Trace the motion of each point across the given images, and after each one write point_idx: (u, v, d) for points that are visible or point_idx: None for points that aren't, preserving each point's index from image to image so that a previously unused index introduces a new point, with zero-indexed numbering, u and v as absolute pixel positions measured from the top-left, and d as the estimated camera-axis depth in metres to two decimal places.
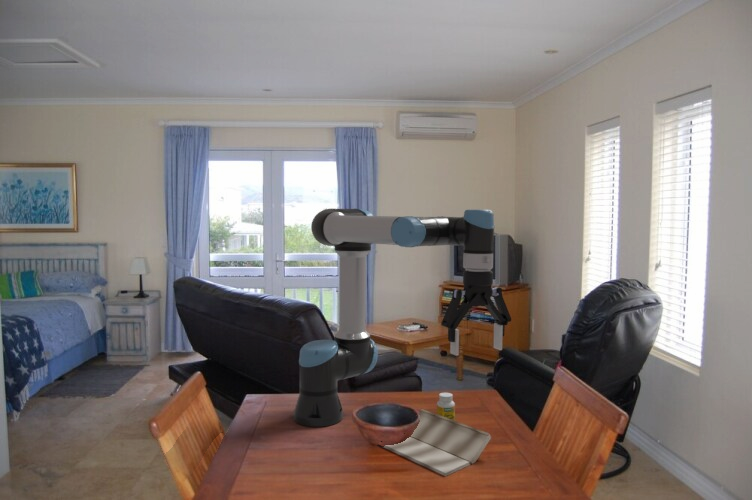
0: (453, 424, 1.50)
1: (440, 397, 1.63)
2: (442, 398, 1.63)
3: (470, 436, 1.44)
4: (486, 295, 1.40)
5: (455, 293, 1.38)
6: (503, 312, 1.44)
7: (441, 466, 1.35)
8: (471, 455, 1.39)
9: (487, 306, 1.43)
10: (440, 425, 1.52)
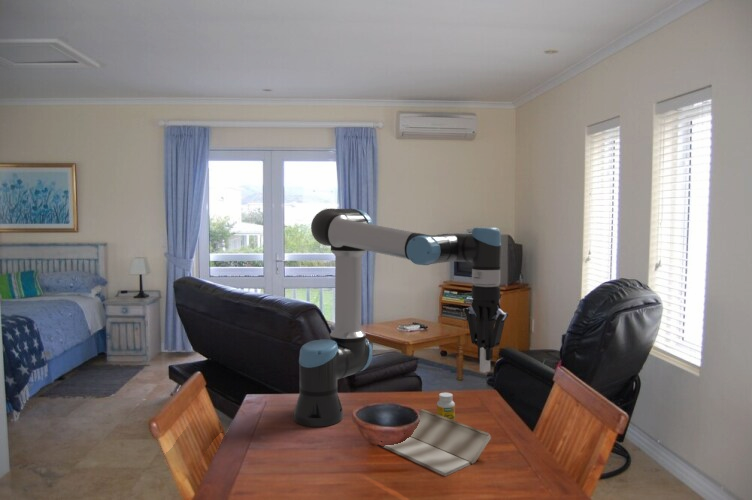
0: (453, 424, 1.50)
1: (440, 397, 1.63)
2: (442, 398, 1.63)
3: (470, 436, 1.44)
4: (485, 310, 1.46)
5: None
6: None
7: (441, 466, 1.35)
8: (471, 455, 1.39)
9: None
10: (440, 425, 1.52)
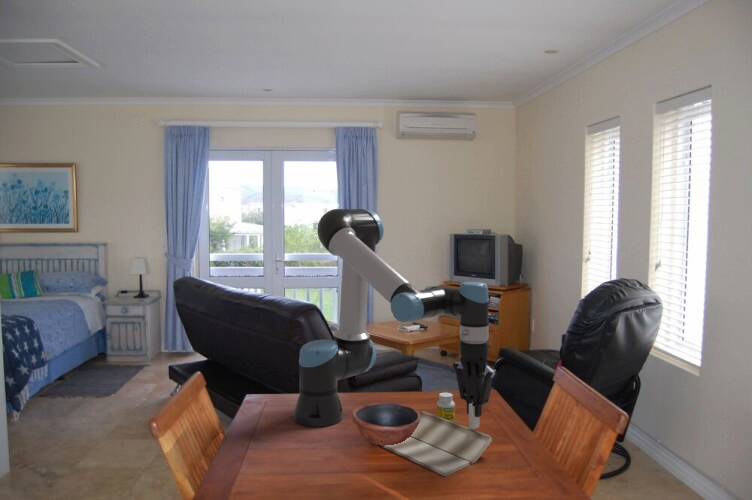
0: (454, 426, 1.51)
1: (440, 397, 1.63)
2: (442, 398, 1.63)
3: (471, 438, 1.45)
4: (473, 367, 1.44)
5: None
6: None
7: (441, 466, 1.35)
8: (471, 455, 1.40)
9: None
10: (441, 427, 1.52)
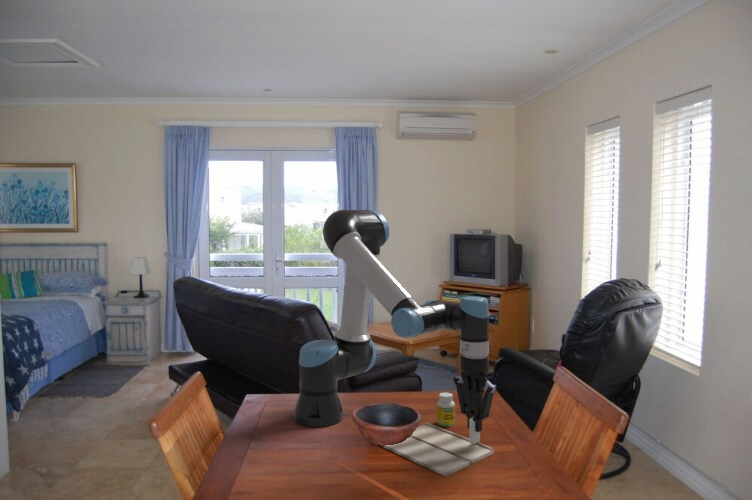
0: (457, 437, 1.52)
1: (440, 397, 1.63)
2: (442, 398, 1.63)
3: (473, 447, 1.46)
4: (474, 382, 1.44)
5: None
6: None
7: (441, 466, 1.35)
8: (473, 457, 1.40)
9: None
10: (443, 435, 1.53)
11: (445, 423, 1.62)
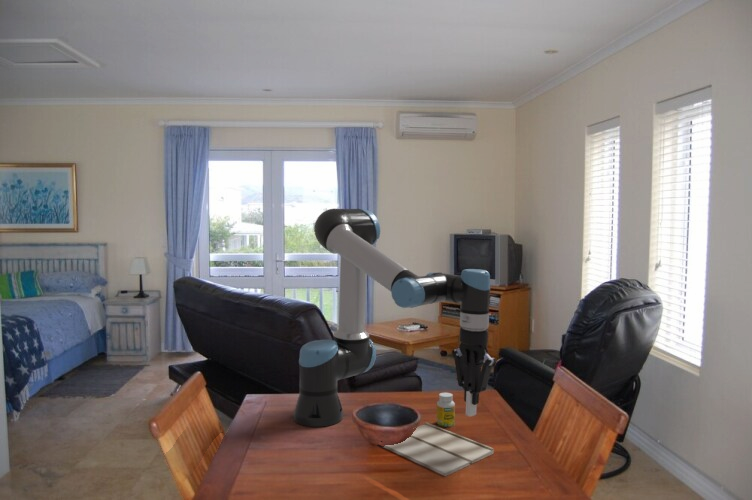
0: (457, 437, 1.52)
1: (440, 397, 1.63)
2: (442, 398, 1.63)
3: (473, 447, 1.46)
4: (472, 354, 1.44)
5: None
6: None
7: (441, 466, 1.35)
8: (473, 457, 1.40)
9: None
10: (443, 435, 1.53)
11: (445, 423, 1.62)
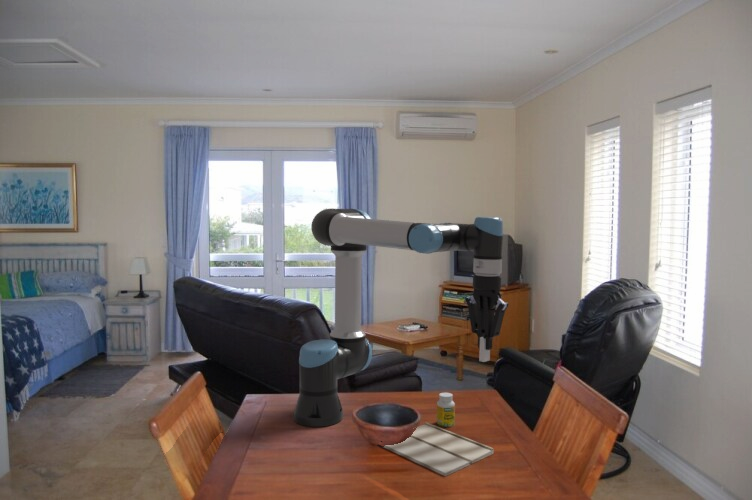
0: (457, 437, 1.52)
1: (440, 397, 1.63)
2: (442, 398, 1.63)
3: (473, 447, 1.46)
4: (485, 299, 1.46)
5: None
6: None
7: (441, 466, 1.35)
8: (473, 457, 1.40)
9: None
10: (443, 435, 1.53)
11: (445, 423, 1.62)
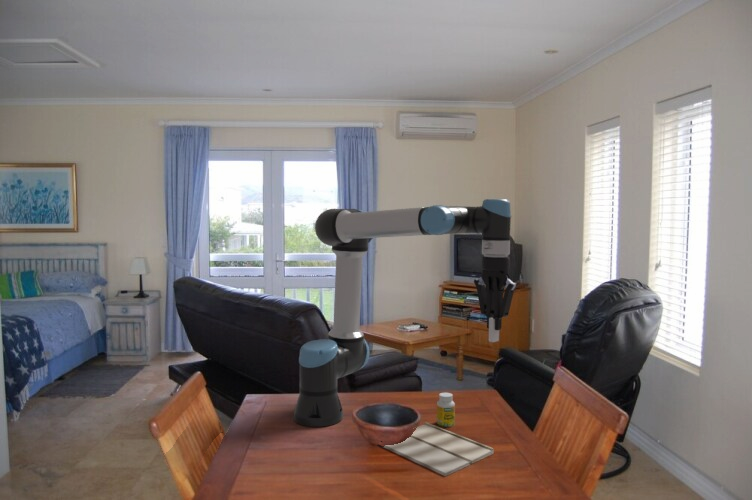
0: (457, 437, 1.52)
1: (440, 397, 1.63)
2: (442, 398, 1.63)
3: (473, 447, 1.46)
4: (494, 280, 1.48)
5: None
6: None
7: (441, 466, 1.35)
8: (473, 457, 1.40)
9: None
10: (443, 435, 1.53)
11: (445, 423, 1.62)
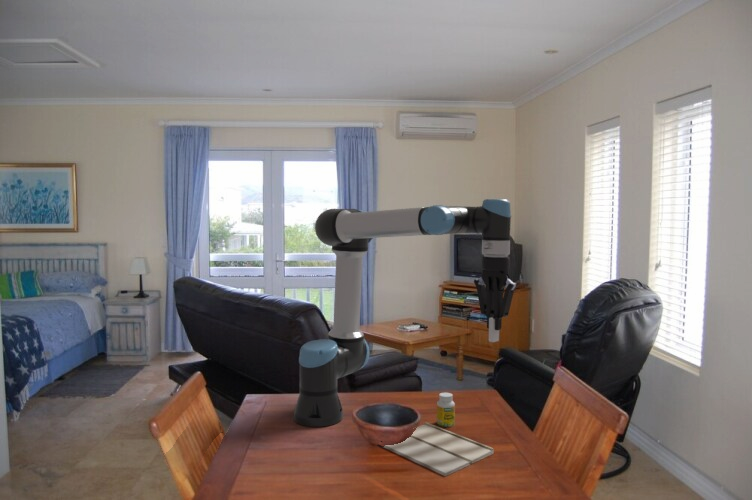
0: (457, 437, 1.52)
1: (440, 397, 1.63)
2: (442, 398, 1.63)
3: (473, 447, 1.46)
4: (494, 280, 1.48)
5: None
6: None
7: (441, 466, 1.35)
8: (473, 457, 1.40)
9: None
10: (443, 435, 1.53)
11: (445, 423, 1.62)
